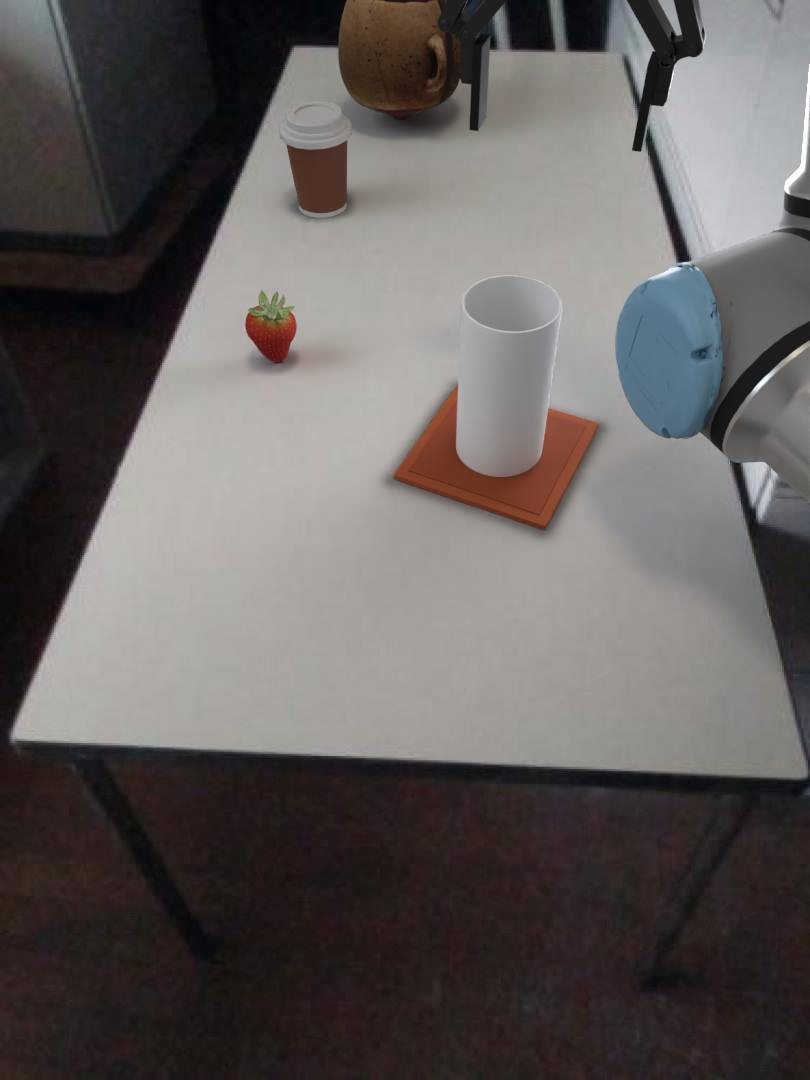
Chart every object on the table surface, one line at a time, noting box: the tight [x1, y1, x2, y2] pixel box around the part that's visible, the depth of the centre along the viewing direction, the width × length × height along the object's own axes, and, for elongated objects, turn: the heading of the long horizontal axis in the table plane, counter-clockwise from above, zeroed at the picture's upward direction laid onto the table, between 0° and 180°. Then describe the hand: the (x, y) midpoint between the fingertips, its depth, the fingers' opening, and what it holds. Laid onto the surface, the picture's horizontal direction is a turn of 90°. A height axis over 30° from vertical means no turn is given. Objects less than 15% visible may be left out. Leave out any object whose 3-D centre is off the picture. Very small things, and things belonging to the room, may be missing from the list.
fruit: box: [244, 290, 297, 363], centre depth 89 cm, size 5×5×8 cm
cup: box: [456, 274, 563, 477], centre depth 75 cm, size 8×8×16 cm
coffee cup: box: [278, 100, 353, 219], centre depth 109 cm, size 9×9×12 cm
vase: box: [337, 0, 461, 122], centre depth 119 cm, size 21×18×30 cm
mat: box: [393, 383, 600, 531], centre depth 82 cm, size 15×15×1 cm
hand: (556, 134), depth 71 cm, fingers open, 13 cm apart
